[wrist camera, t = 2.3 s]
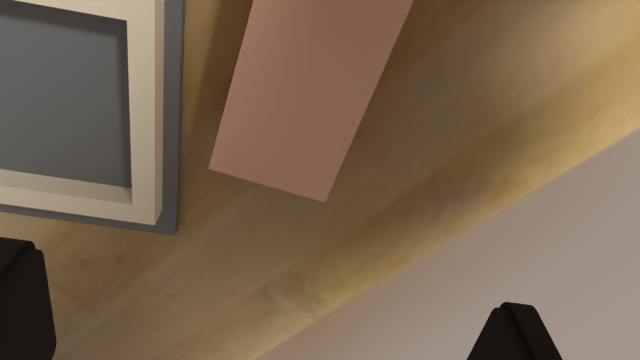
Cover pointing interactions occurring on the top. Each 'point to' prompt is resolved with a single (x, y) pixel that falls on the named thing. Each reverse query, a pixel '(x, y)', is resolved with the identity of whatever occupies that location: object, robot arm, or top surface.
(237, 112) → the salmon pink brick
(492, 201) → the top surface
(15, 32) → the pocket mat
